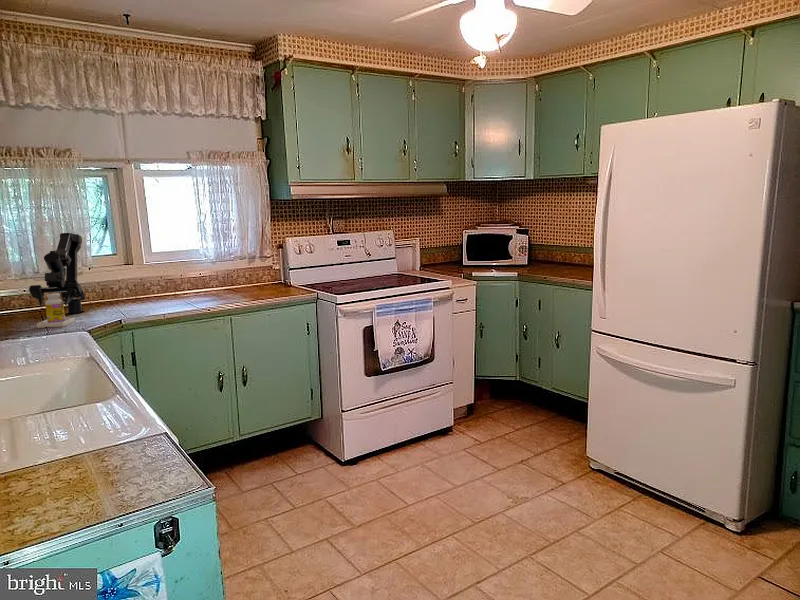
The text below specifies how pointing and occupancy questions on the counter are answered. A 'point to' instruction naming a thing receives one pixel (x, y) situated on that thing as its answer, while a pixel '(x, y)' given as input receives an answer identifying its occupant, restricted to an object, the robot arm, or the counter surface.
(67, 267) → the robot arm
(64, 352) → the counter surface
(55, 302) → the supplement bottle
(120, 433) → the counter surface
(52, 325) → the pocket tray
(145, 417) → the counter surface
